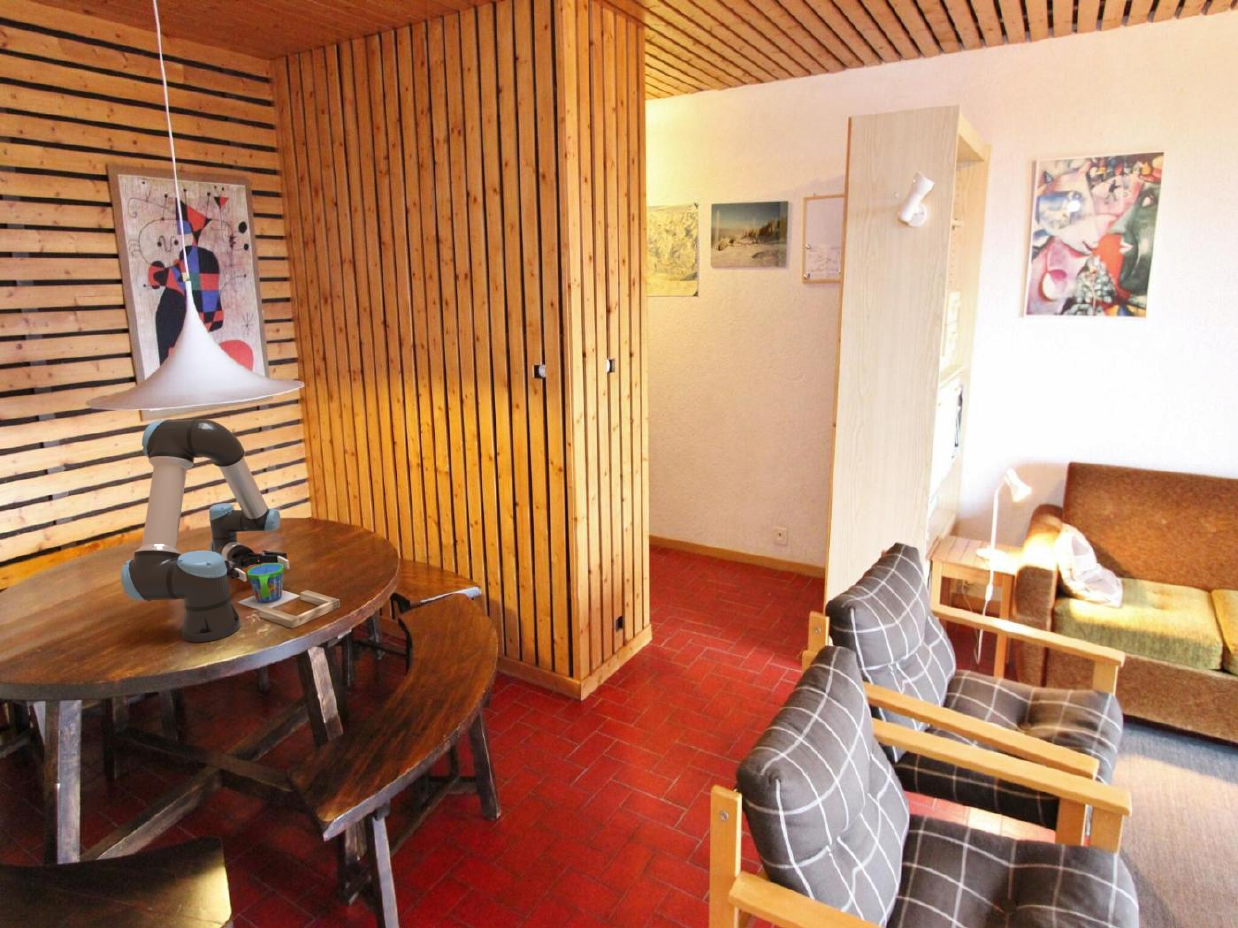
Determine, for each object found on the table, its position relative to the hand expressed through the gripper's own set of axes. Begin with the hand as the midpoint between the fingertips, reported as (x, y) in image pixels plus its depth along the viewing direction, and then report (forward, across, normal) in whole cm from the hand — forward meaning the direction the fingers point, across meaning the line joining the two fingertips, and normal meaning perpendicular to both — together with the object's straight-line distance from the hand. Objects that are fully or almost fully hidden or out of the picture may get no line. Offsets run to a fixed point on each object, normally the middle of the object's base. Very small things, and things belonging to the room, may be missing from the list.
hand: (267, 570), depth 238 cm
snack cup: (0, 0, -10) cm, 10 cm away
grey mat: (0, 0, -10) cm, 10 cm away
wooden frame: (+17, -2, -10) cm, 20 cm away
